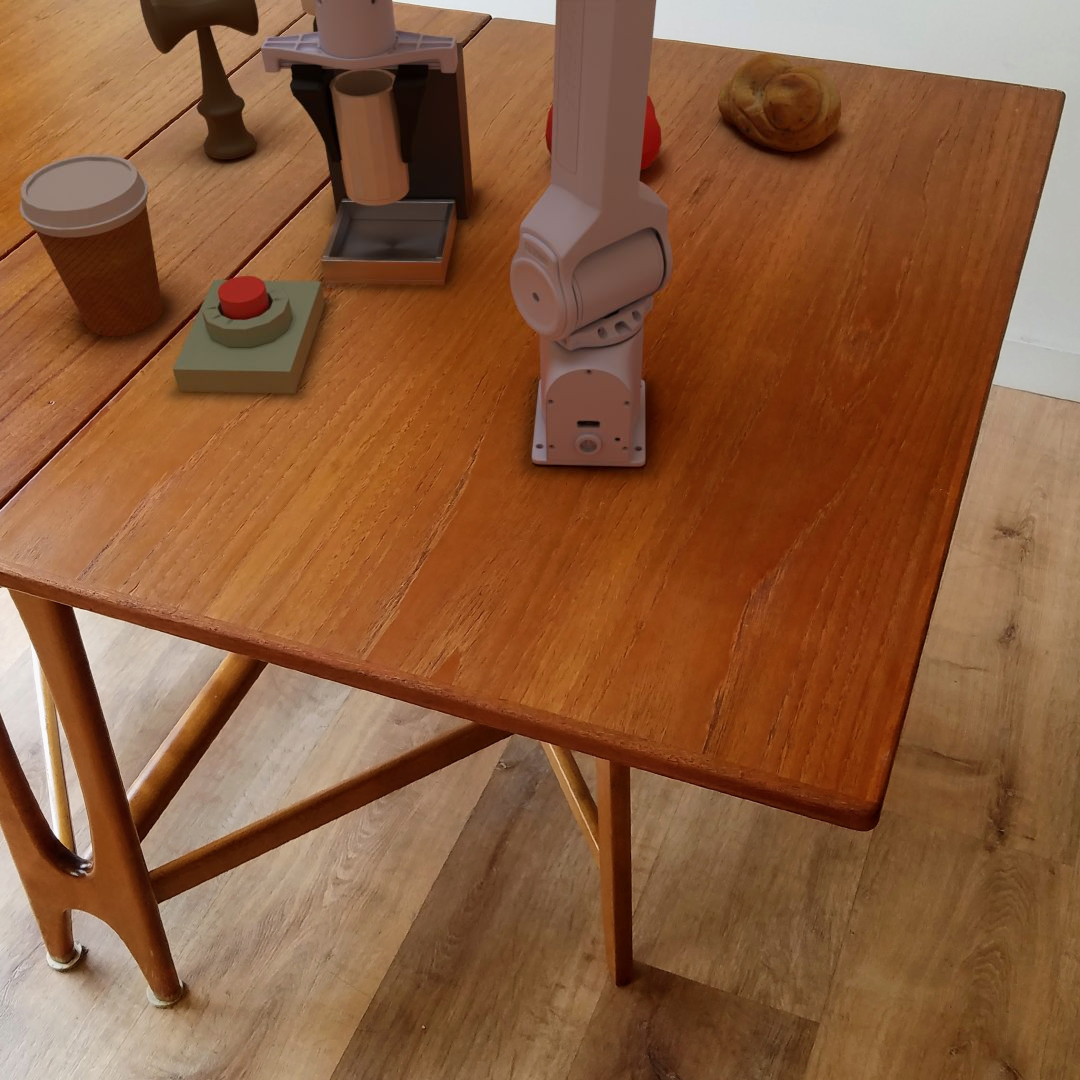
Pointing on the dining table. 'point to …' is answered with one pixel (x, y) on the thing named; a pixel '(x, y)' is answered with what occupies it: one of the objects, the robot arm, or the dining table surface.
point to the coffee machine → (434, 144)
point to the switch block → (252, 342)
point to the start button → (243, 298)
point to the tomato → (649, 139)
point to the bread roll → (781, 103)
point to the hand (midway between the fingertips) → (374, 156)
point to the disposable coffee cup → (97, 238)
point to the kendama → (208, 62)
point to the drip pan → (391, 242)
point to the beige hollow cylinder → (369, 136)
